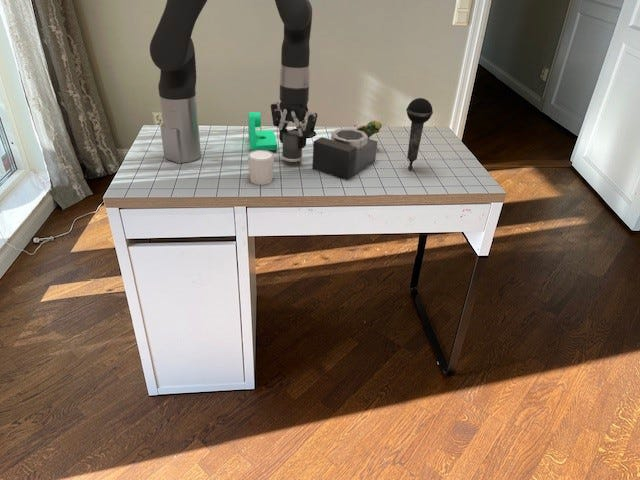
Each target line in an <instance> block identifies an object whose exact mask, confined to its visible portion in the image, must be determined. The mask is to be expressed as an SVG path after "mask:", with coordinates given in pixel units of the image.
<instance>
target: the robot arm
mask: <svg viewBox="0 0 640 480" xmlns="http://www.w3.org/2000/svg"><path fill="white" fill-rule="evenodd" d="M207 2H208V0H167V1H166V3H165V7H164V11H163V12H162V15H161V17H160V19H159V22H158V24H157V26H156V29H155V31H154V34H153V36H152V38H151V41H150V43H149V55H150V58H151V61H152V62H153V64H154V65H155V66H156V67H157V68H158V69H159V71H160V73H159V74H160V75H159V82H158V86H157V88H158V96H159V102H160V110H161V111H160V112H161V117H162V124H160V125H159V126H160V127H159V128H160V134H161V135H160V136H161V142H162V143H161V144H162V149H163V157H164V159H165V160H168V161H170V162H171V161H172V162H174V163H177V164H178V165H179V164H183V163H191V162H194V161H197V160H198V159H200V158H201V157H202V149H201V148H202V147H201V139H200V137H201V136H200V125H199V114H198V104H197V102H198V101H197V92H196V86H197V66H196V64H197V63H196V50H195V45H194V41H193V39H192V35H193V30H194V28H195V25H196V23H197V20H198V18H199V16H200V15H201V12H203V8H204V7H205V6H206V3H207ZM274 2H275V6H276V9H277V11H278V14H279V17H280V20H281V21H282V23H283V40H282V43H281V57H280V58H281V59H280V61H281V62H280V71H279V101H280V102H278V101H276V102H274V103H271V104H270V111H271V119H272V125H273V127H277V129H278V130H279V131H278V132H279V133H278V134H279V135H278V136H279V143H280V144H283V132H285V131H288V126H289V123H290V122H291V123H293V124H294V126H295V128H296V129H297V131H298V132H299V135H300V136H298V149H302V150H303V149H304V148H305V147H306V146H307V137H309V136H310V135H312V134H314V132H315V127H316V125H317V123H316V122H317V119H318V113H317V112H311V111H310V110H309V108H308V103H309V100H310V99H309V98H310V97H309V95H310V76H311V75H310V53H311V52H310V50H311V49H310V39H311V32H312V23H313V22H312V21H313V6H312V3H311V2H310V1H309V0H274Z"/></svg>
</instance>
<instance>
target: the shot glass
mask: <svg viewBox="0 0 640 480" xmlns="http://www.w3.org/2000/svg"><path fill="white" fill-rule="evenodd" d="M246 156H247V164H248V170H249V172H248V173H249V178H250V182H251V183H252V184H255V185H260V186H261V185H263V186H264V185H268V184H270V183H272V182H273V175H274V167H275V166H274V165H275V153H274V152H272V151H271V150H255V151H251V150H250V152H248V153H247V155H246Z"/></svg>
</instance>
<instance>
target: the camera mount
mask: <svg viewBox="0 0 640 480" xmlns="http://www.w3.org/2000/svg"><path fill="white" fill-rule="evenodd" d="M261 118H262V117H261V112H260V111H248V121H247V122H248V126H247V127H248V130H247V131H248V140H249V141H248V142H249V143H248V144H249V147H250V152H251V151H255V150H267V151H276V150H278V142H277V138H276V135H275V132H274V130H271V129H269V130H267V129H265V130H264V129H263V130H256V129H257V128H261V127H262V119H261Z"/></svg>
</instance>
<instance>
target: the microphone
mask: <svg viewBox="0 0 640 480" xmlns="http://www.w3.org/2000/svg"><path fill="white" fill-rule="evenodd" d="M405 111H406V115H407V117H408V119H409V121H411V123H410V124H411V125H410V131H409V139H408V150H407V159H408V161H409V165H408V166H407V170H409V171H412V170H413V169H414V167H413V164H414V163H413V162H415V161H416V160H417V159H418V153H419V150H420V144H421V139H422V133H423V129H424V124H425V123H427V122H428V121H429V120H430V119H431V118H432V115H433V113H434V111H433V105H432V104H431V102H430V101H429V100H427V99H426V98H423V97H419V98H418V97H417V98H414V99H413V100H411V101H410V102H409V103H408V106H407V108H406V110H405Z"/></svg>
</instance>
